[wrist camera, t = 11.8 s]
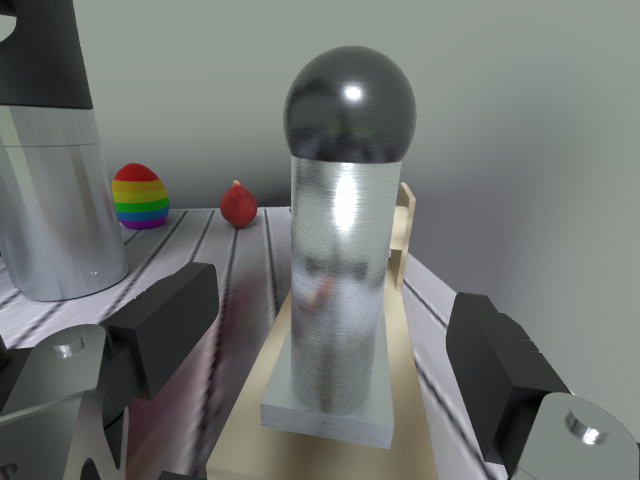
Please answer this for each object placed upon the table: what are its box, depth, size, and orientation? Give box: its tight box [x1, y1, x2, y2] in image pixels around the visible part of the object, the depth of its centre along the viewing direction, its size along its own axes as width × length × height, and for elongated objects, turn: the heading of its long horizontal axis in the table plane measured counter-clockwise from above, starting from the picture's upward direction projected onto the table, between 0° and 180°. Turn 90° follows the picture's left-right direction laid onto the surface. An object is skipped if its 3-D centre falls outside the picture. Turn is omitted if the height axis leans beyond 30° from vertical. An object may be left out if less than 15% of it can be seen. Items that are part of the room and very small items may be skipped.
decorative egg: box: [111, 163, 169, 229], centre depth 48 cm, size 8×8×10 cm
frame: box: [206, 183, 438, 480], centre depth 24 cm, size 11×26×11 cm, turn 171°
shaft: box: [260, 46, 417, 449], centre depth 17 cm, size 6×13×16 cm, turn 171°
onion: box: [220, 180, 257, 229], centre depth 48 cm, size 6×6×8 cm
